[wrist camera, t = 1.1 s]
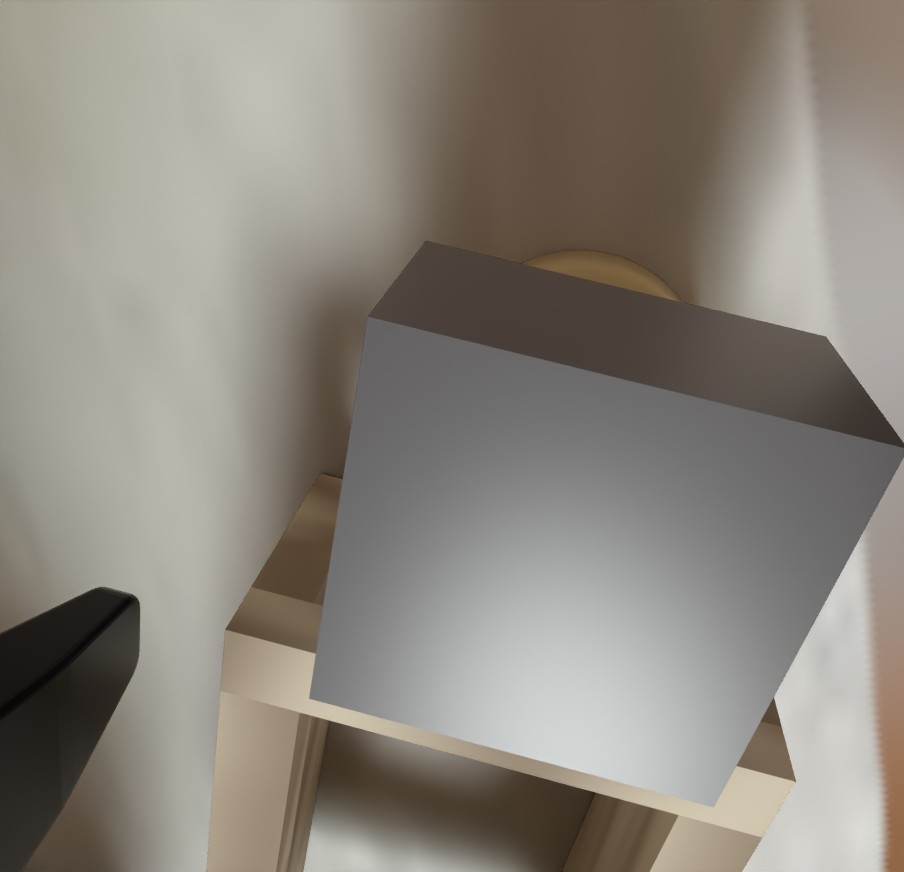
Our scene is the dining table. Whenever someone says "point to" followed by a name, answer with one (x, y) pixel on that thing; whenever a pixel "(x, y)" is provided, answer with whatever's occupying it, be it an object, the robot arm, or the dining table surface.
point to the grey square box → (588, 515)
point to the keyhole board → (424, 743)
